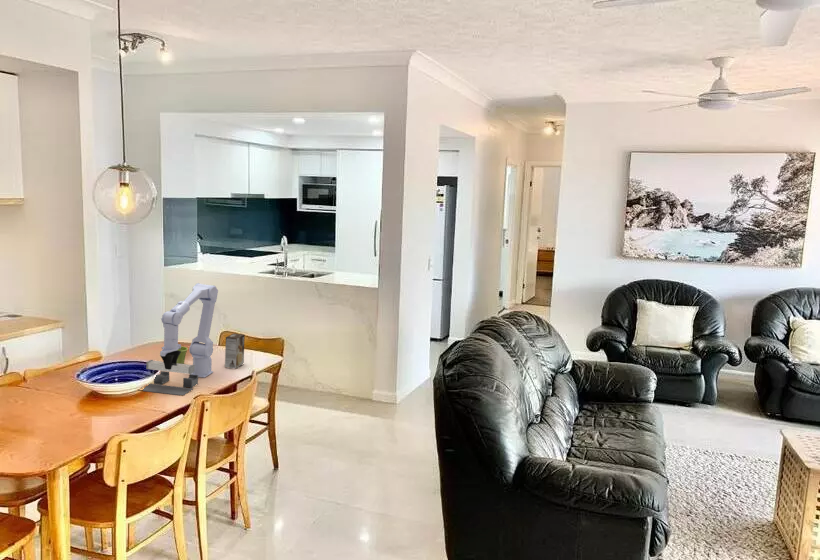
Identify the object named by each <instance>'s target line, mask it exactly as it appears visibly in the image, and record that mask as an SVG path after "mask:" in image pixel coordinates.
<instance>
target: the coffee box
mask: <svg viewBox="0 0 820 560" xmlns="http://www.w3.org/2000/svg"><path fill="white" fill-rule="evenodd" d="M245 337H246V336H245V334H241V333H231V334H229V335H227V336H226V337H225V348H224V349H225V351H224V352H225V353H224V368H225V367H230V368H229V369H232V368H237V367H238V366H240V365H242V364H243V363H244V362H245ZM244 364H245V363H244ZM244 364H243V365H244ZM243 365H242V366H243ZM240 367H241V366H240ZM237 369H238V368H237Z"/></svg>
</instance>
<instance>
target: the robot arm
mask: <svg viewBox="0 0 820 560" xmlns="http://www.w3.org/2000/svg"><path fill="white" fill-rule="evenodd" d="M218 293H219V290H218V288H217V286H216V285H212V284H211V285H210V284H205V283H199V282H198V283H195V285H194V286H192V290H191V293H189V294H188V296H187V297H186V298H185V299H184V300H180V301H177V304H176V305H174V306H173V307H172V308H171V309H170V310H167V311H165V312H163V314H162V316H161V318H160V319H161V323H162V324H163V325H162V326H163V329H164V332H163V338H164V339H163V346H162V347H161V351H160V353H159V356H160V357H161V359H162V362H164V365H165V369H168V370H170V369H171V364H172V363H176V362H177V359H178V357H179V355H180V353H181V351H180V350H178V349H181V346H182V344H181V343H179V342H178V341H179V325H180V324H181V323H182V321H183V320H182V319H184V318H183V317H184V316H185V315H186V314H187V313H188V312H189V311H190V307H191V306H192V305H193V304H195V302H197V301H198V300H199V301H200V302H202V304H203V305H202V309H201V314H200V320H199V326H198V331H197V336H195V337H194V338H192V340H191V343H190V346H189V348H188V350H189V351H188V352H189V353H190V355H191V357H192V365H195V367H194V372H193V373H191V374H192V375H198V378H206V377H208V376H210V375H212V373H214V371H213V370H212V364H213V363H212V362H213V361H212V360H213V359H212V357H211V356H212V355H213V353H214V346H213V345H214V342H213V340H212V339H211V338H210V335H211V334H210V333H211V327H212V321H213V317H214V310H215V306H216V303H217V299H218Z"/></svg>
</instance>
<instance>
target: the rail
mask: <svg viewBox="0 0 820 560" xmlns="http://www.w3.org/2000/svg"><path fill="white" fill-rule="evenodd" d="M194 367H195V365H193V364H186V363H184V364H179V363H172V364H171V369H170V370H168V369H165V365H164V362H163V361H160V360H153V359H150V360H148V361H146V370H151V371H152V370H154V371H159V372H160V371H166V372H169V373H180V374H186V375H189V374H191V373H193V372H194Z"/></svg>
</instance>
